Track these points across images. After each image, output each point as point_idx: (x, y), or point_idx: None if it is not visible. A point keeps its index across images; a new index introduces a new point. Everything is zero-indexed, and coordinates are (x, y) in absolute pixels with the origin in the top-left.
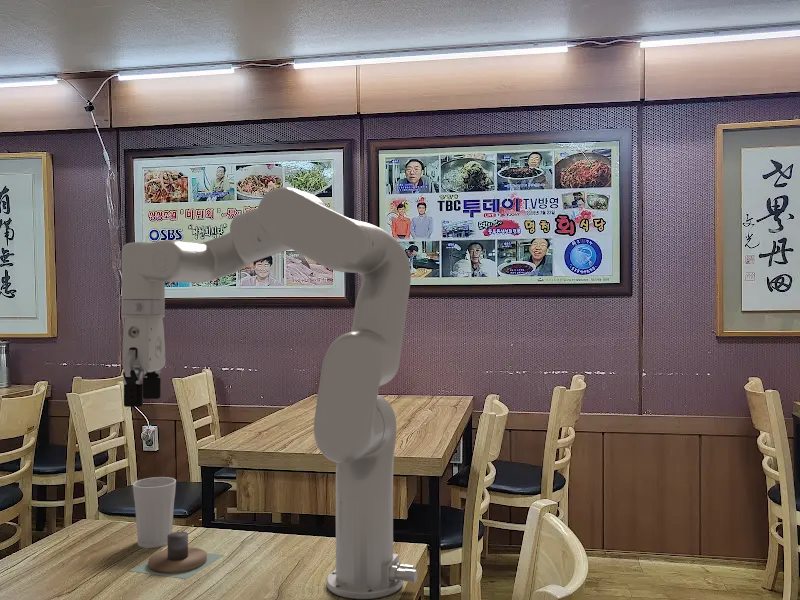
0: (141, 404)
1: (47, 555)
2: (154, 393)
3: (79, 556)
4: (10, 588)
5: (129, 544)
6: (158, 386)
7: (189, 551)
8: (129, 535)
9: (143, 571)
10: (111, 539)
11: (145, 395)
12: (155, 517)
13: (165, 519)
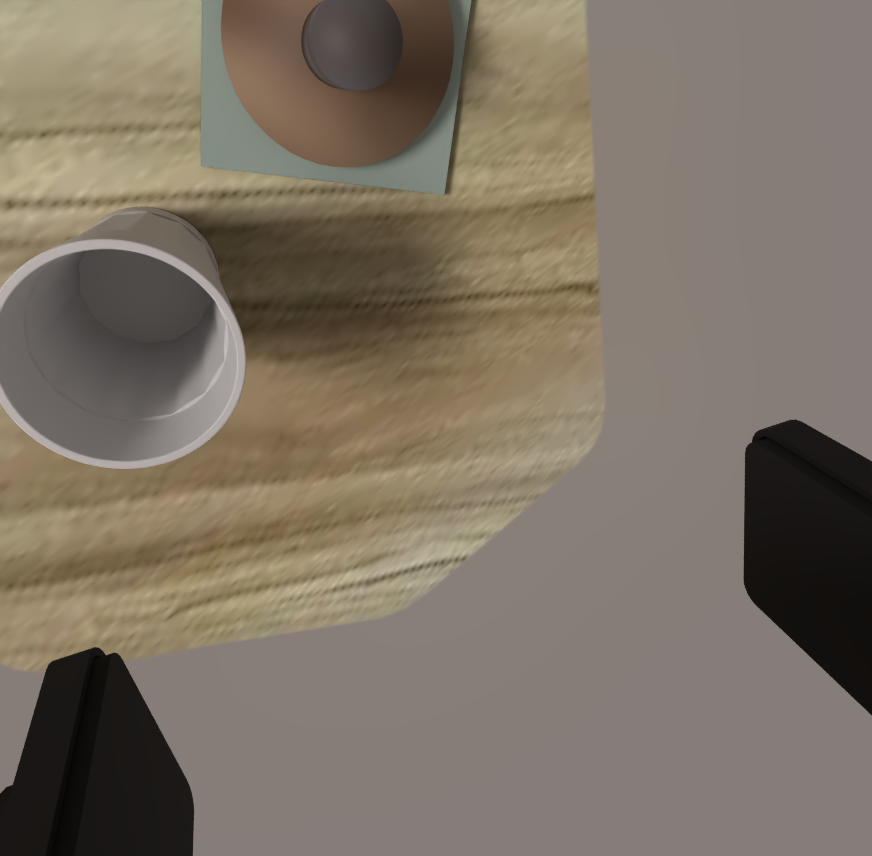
0: (804, 426)
1: (352, 541)
2: (130, 745)
3: (338, 450)
4: (578, 453)
5: None
6: (87, 802)
7: (267, 24)
8: None
9: (442, 139)
10: None
11: (180, 808)
12: (208, 262)
13: (164, 230)
